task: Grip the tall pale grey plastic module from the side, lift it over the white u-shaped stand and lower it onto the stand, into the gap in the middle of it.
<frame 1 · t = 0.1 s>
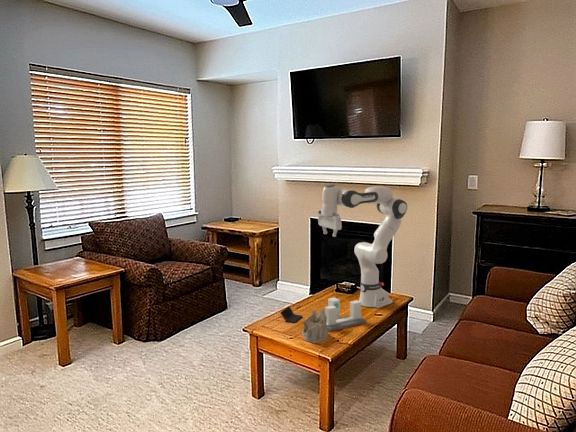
hand: (329, 235, 257), 48 cm above the table, tool pointing down, fingers open, 8 cm apart
white u-shaped stand: (343, 323, 246), on the table
handheld gaming console: (291, 319, 254), on the table
stone castle model: (313, 336, 231), on the table
module: (333, 317, 256), on the table
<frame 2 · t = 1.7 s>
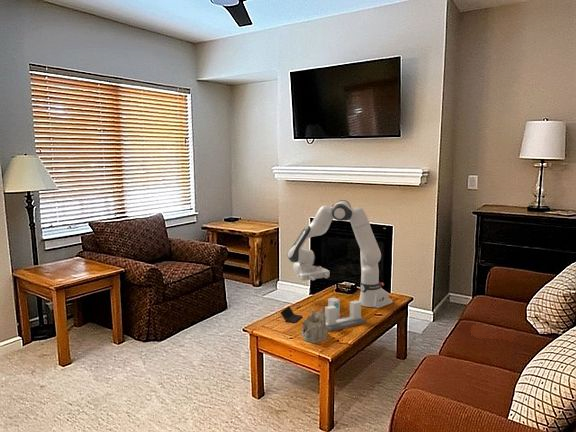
hand: (321, 277, 265), 20 cm above the table, tool horizontal, fingers open, 8 cm apart
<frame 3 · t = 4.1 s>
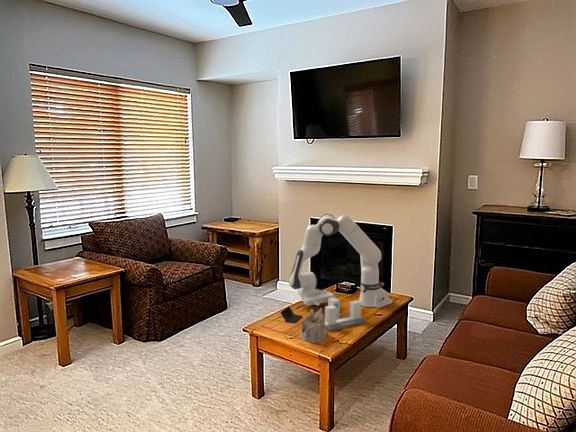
hand: (325, 302, 263), 6 cm above the table, tool horizontal, fingers open, 8 cm apart
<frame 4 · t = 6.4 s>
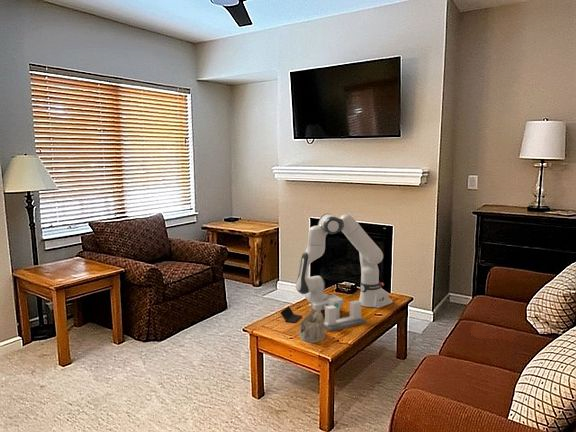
hand: (334, 307, 254), 6 cm above the table, tool horizontal, fingers closed on module, 4 cm apart
module: (333, 317, 256), on the table, touching gripper
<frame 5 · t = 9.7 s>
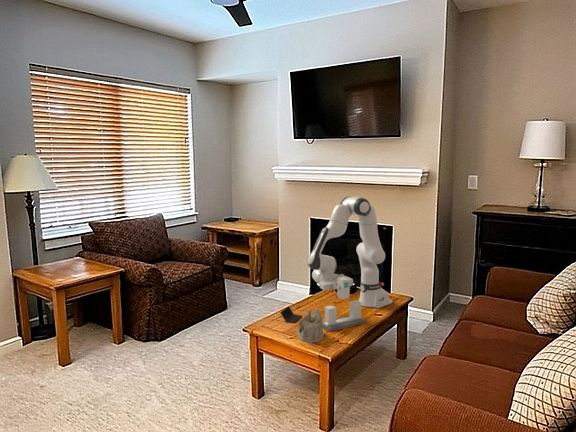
hand: (344, 287, 242), 22 cm above the table, tool horizontal, fingers closed on module, 4 cm apart
module: (343, 297, 243), point 16 cm above the table, touching gripper
when the fingers open (10 cm above the table, at t = 12.8 s): module drops 1 cm, resting on white u-shaped stand.
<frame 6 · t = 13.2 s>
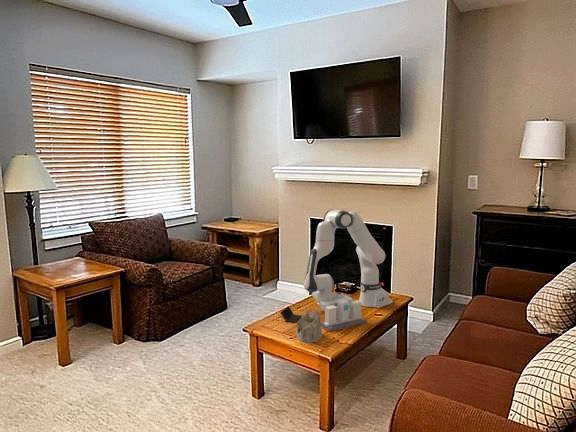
hand: (344, 307, 244), 10 cm above the table, tool horizontal, fingers open, 6 cm apart
module: (343, 319, 245), point 2 cm above the table, touching white u-shaped stand
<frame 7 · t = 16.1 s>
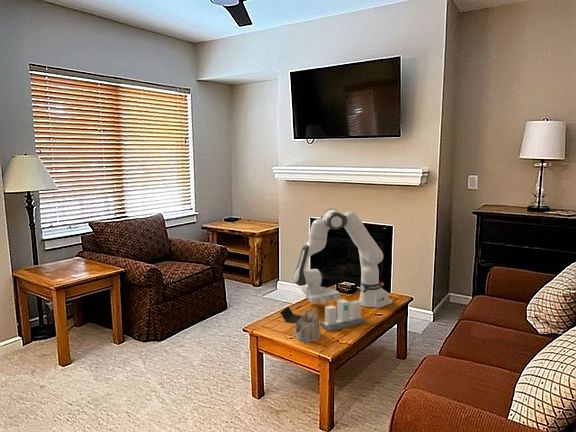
hand: (330, 300, 255), 10 cm above the table, tool horizontal, fingers open, 6 cm apart
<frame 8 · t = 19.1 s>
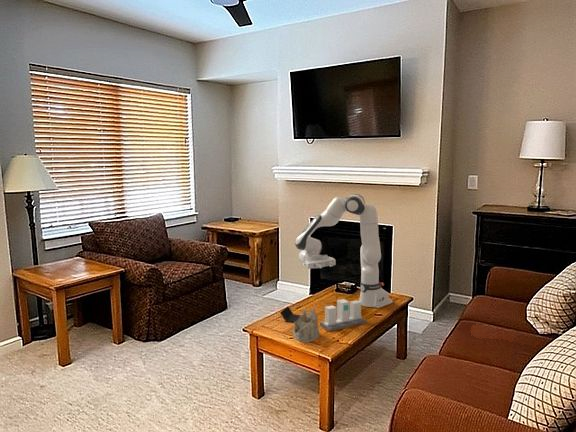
hand: (326, 266, 264), 28 cm above the table, tool horizontal, fingers open, 6 cm apart
at the end: module 0.0 cm off-centre on the white u-shaped stand, point 2.5 cm above the white u-shaped stand's base; module tilted 0°; the gripper is holding nothing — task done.
